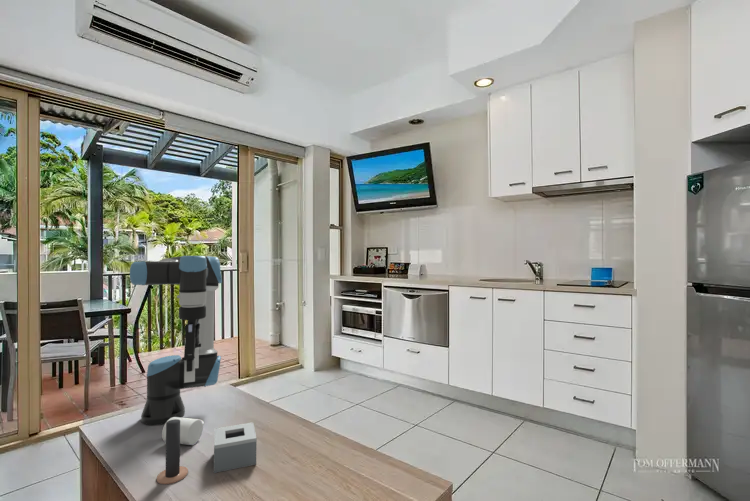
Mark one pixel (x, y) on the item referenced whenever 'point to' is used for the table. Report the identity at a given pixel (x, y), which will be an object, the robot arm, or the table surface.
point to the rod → (172, 448)
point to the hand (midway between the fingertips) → (191, 374)
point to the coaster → (164, 480)
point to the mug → (187, 430)
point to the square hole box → (234, 447)
